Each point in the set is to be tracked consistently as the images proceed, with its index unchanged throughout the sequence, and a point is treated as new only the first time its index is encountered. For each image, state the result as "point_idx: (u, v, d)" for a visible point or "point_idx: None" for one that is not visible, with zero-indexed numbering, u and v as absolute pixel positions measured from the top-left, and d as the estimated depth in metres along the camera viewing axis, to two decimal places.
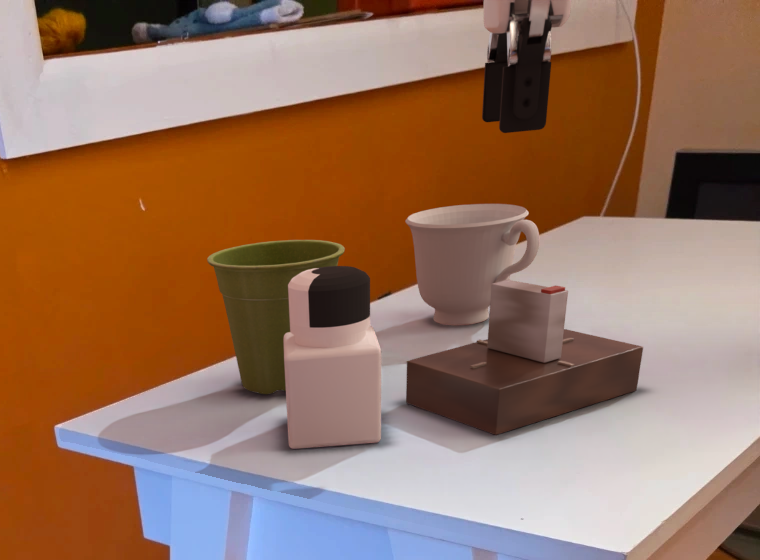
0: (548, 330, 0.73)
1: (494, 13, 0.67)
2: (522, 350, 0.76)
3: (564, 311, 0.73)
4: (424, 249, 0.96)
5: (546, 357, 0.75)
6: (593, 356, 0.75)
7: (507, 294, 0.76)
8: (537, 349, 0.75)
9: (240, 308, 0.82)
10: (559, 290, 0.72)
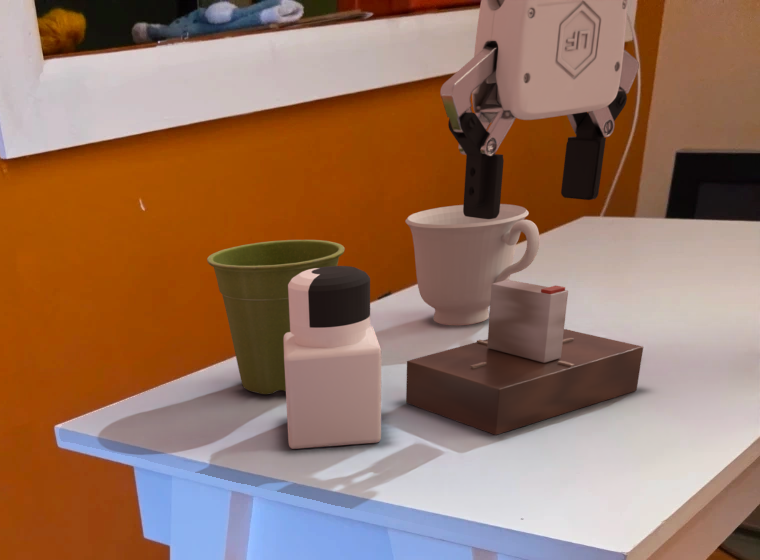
0: (548, 330, 0.73)
1: None
2: (522, 350, 0.76)
3: (564, 311, 0.73)
4: (424, 249, 0.96)
5: (546, 357, 0.75)
6: (593, 356, 0.75)
7: (507, 294, 0.76)
8: (537, 349, 0.75)
9: (239, 308, 0.82)
10: (559, 290, 0.72)
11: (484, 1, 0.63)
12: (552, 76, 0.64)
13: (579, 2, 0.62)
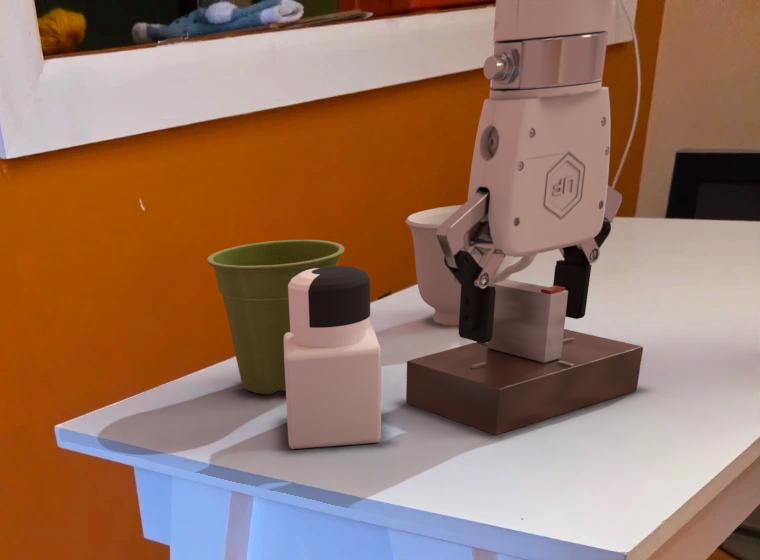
0: (548, 330, 0.73)
1: None
2: (522, 350, 0.76)
3: (564, 311, 0.73)
4: (424, 249, 0.96)
5: (546, 357, 0.75)
6: (593, 356, 0.75)
7: (507, 294, 0.76)
8: (537, 349, 0.75)
9: (239, 308, 0.82)
10: (559, 290, 0.72)
11: (477, 150, 0.68)
12: (540, 219, 0.69)
13: (564, 153, 0.67)
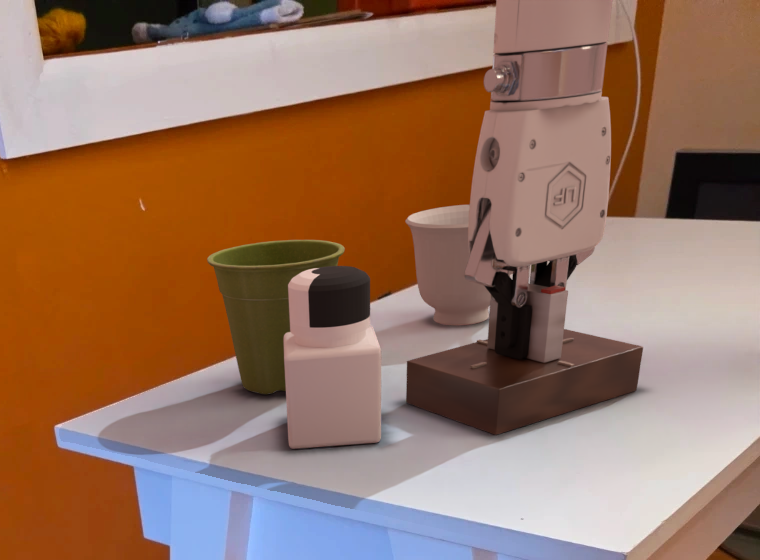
0: (548, 330, 0.73)
1: None
2: None
3: (564, 311, 0.73)
4: (424, 249, 0.96)
5: (546, 357, 0.75)
6: (593, 356, 0.75)
7: None
8: (537, 349, 0.75)
9: (239, 308, 0.82)
10: (559, 290, 0.72)
11: (478, 162, 0.69)
12: (542, 228, 0.69)
13: (565, 164, 0.68)
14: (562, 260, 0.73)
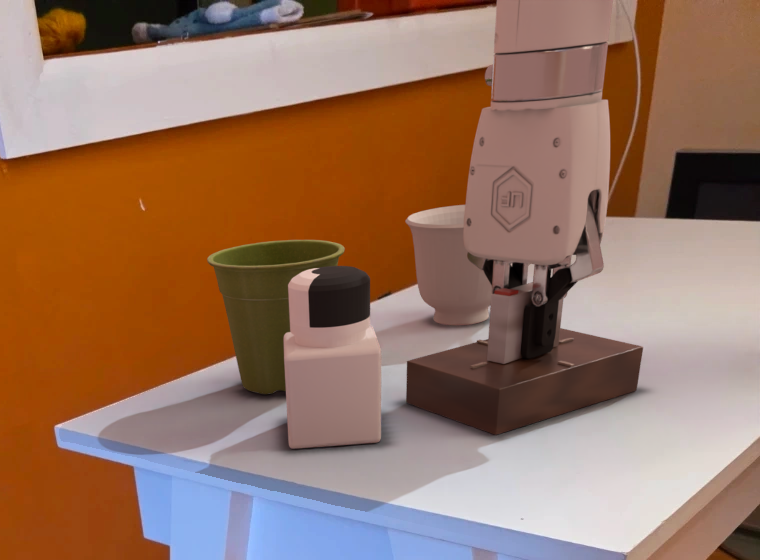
0: (489, 329, 0.75)
1: None
2: None
3: (505, 316, 0.74)
4: (424, 249, 0.96)
5: (488, 355, 0.76)
6: (593, 356, 0.75)
7: None
8: None
9: (239, 308, 0.82)
10: (503, 293, 0.73)
11: None
12: (489, 225, 0.72)
13: (512, 167, 0.69)
14: (539, 268, 0.72)
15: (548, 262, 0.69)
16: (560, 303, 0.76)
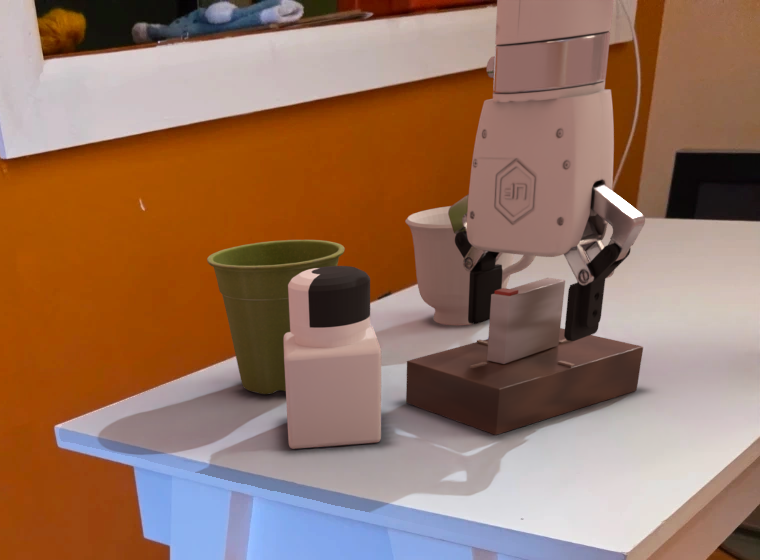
0: (489, 329, 0.75)
1: None
2: None
3: (505, 316, 0.74)
4: (424, 249, 0.96)
5: (488, 355, 0.76)
6: (593, 356, 0.75)
7: None
8: None
9: (239, 308, 0.82)
10: (503, 293, 0.73)
11: None
12: (493, 218, 0.72)
13: (515, 159, 0.68)
14: (569, 252, 0.69)
15: (552, 254, 0.69)
16: (560, 303, 0.76)
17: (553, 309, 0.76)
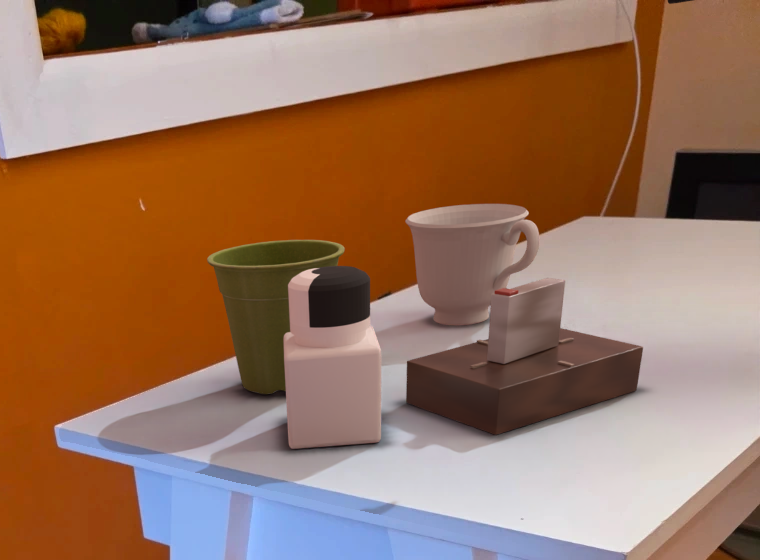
0: (489, 329, 0.75)
1: None
2: None
3: (505, 316, 0.74)
4: (424, 249, 0.96)
5: (488, 355, 0.76)
6: (593, 356, 0.75)
7: None
8: None
9: (239, 308, 0.82)
10: (503, 293, 0.73)
11: None
12: None
13: None
14: None
15: None
16: (560, 303, 0.76)
17: (553, 309, 0.76)
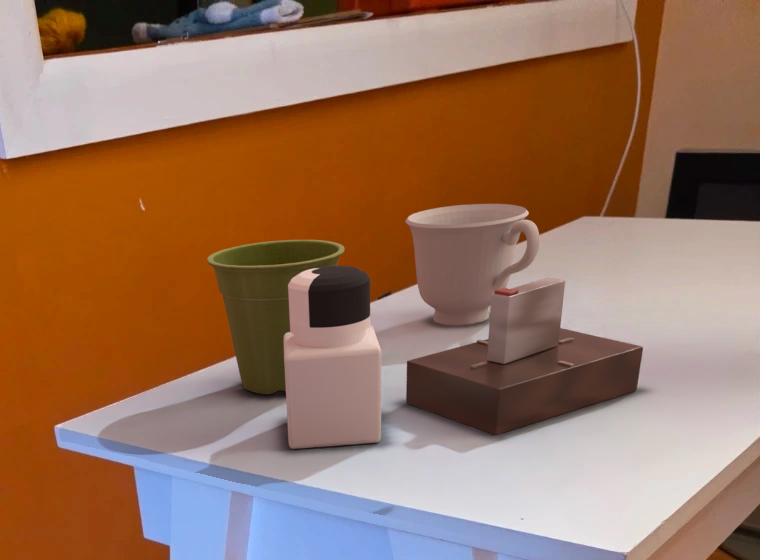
0: (489, 329, 0.75)
1: None
2: None
3: (505, 316, 0.74)
4: (424, 249, 0.96)
5: (488, 355, 0.76)
6: (593, 356, 0.75)
7: None
8: None
9: (239, 308, 0.82)
10: (503, 293, 0.73)
11: None
12: None
13: None
14: None
15: None
16: (560, 303, 0.76)
17: (553, 309, 0.76)
